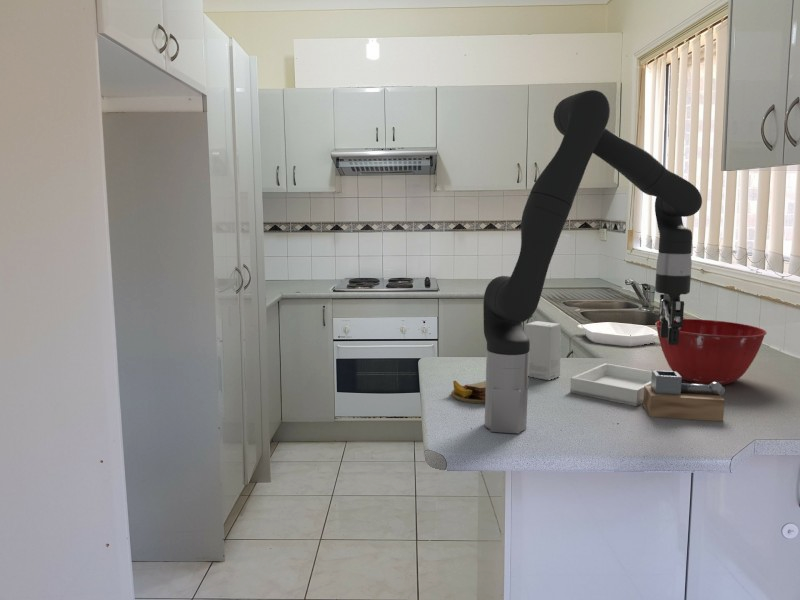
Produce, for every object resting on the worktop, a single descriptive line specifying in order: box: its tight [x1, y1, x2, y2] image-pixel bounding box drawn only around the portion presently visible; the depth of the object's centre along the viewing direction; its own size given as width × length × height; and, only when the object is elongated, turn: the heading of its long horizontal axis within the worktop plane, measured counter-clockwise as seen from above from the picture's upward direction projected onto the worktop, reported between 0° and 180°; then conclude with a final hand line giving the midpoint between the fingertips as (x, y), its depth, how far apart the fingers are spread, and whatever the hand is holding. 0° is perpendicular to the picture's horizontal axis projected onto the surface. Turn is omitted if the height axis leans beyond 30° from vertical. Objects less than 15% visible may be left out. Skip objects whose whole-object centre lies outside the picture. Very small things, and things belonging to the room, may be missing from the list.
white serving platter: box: [577, 321, 659, 347], centre depth 243 cm, size 31×25×4 cm
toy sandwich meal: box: [451, 380, 486, 404], centre depth 168 cm, size 12×14×5 cm
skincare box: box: [524, 320, 562, 381], centre depth 188 cm, size 8×7×16 cm
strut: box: [651, 369, 726, 396], centre depth 156 cm, size 6×16×4 cm, turn 79°
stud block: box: [642, 386, 726, 422], centre depth 156 cm, size 9×16×8 cm, turn 79°
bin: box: [569, 362, 652, 407], centre depth 175 cm, size 22×18×4 cm
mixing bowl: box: [655, 318, 767, 386], centre depth 187 cm, size 28×28×16 cm
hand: (668, 340), depth 155 cm, fingers open, 8 cm apart
